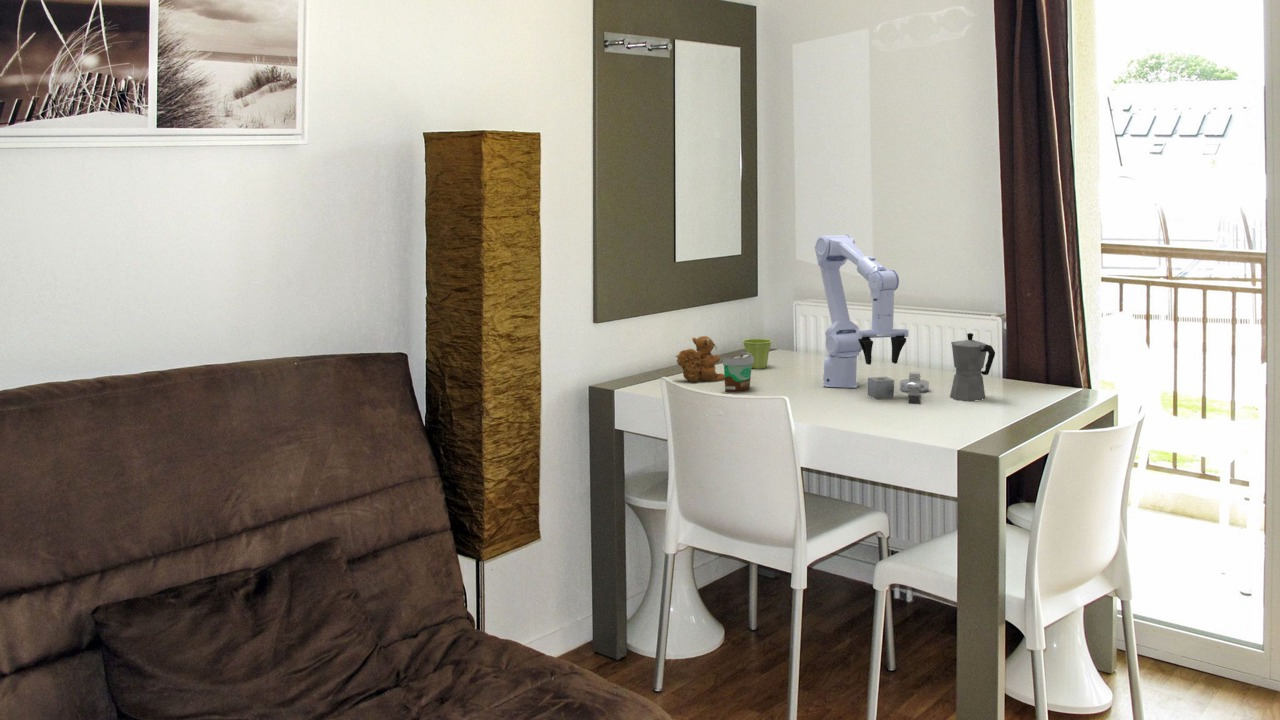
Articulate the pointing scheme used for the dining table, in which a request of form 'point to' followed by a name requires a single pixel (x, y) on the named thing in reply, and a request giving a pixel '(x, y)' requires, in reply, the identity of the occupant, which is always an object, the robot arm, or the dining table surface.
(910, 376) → the ratchet
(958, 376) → the coffeepot
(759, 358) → the plant pot
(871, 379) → the grey cube
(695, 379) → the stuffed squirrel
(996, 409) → the dining table surface
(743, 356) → the food container
